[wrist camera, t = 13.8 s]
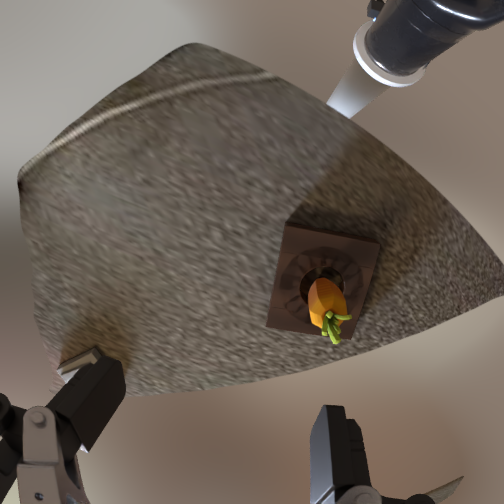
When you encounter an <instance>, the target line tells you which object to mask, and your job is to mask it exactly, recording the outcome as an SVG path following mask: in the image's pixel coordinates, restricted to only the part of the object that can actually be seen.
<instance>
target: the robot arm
mask: <svg viewBox="0 0 504 504" xmlns="http://www.w3.org/2000/svg"><path fill="white" fill-rule="evenodd" d="M367 10H368V11H367V16H368V17H371V18H375V19H374V20H373V21H374V22H373V24H372V25H371V27H370V28H369V29H368V31H367V32H366V34H365V37H364V47H365V50H366V53H367V54H368V56H369V58H370V59H371V60H372V62H373V63H374V64H375V65H376V66H378V67H379V68H380V69H381V70H383V71H385V72H387V73H389V74H391V75H394V76H399V77H406V76H410V75H412V74H414V73H415V72H416V71H418V70H419V68H421V67H422V66H424V65H425V64H426V65H425V66H424V68H426V67H427V65H428V64H429V62H430V61H431V60H433V59H434V58H435V57H437V56H438V55H440V54H441V53H443V52H444V51H446V50H447V49H449V48H450V47H452V46H453V45H455V44H456V43H458V42H459V41H461V40H462V39H463V38H465V37H467V36H468V35H470V34H471V33H473V32H475V31H476V30H477V31H480V30H486V29H489V28H491V27H492V26H495V25H497V24H499V23H501V22H503V21H504V0H387V1H386V3H384V2H383V0H377V1H375V0H371V1H370V3H369V5H368V7H367ZM424 68H423V69H424ZM423 69H422V70H423ZM125 393H126V384H125V379H124V374H123V368H122V363H121V362H120V361H119V360H116V359H113V358H110V357H108V356H105V355H103V356H101V357H100V358H99V359H98V360H97V362H96V363H95V364H93V363H89V364H87V365H85V366H83V367H81V368H80V369H79V370H78V371H77V372H76V373H75V374H74V375H73V377H72V378H71V379H70V380H69V381H68V383H66V384H65V385H64V386H63V387H62V389H61V390H60V391H59V392H58V393H57V394H56V395H55V396H54V398H53V399H52V400H51V401H50V402H49V403H48V405H46V406H45V407H43V406H35V407H32V408H30V409H28V410H26V409H23V408H20V407H16V406H13V405H11V403H10V401H9V400H8V398H7V397H6V396H5V395H4V394H2V393H0V436H2V440H1V441H0V504H2V502H3V500H4V498H5V496H6V495H7V493H8V491H9V490H10V488H11V486H12V485H13V483H14V481H15V480H16V478H17V480H18V489H19V498H20V504H90V502H89V500H88V498H87V496H86V494H85V491H84V487H83V483H82V479H81V474H80V470H79V464H78V459H77V455H76V453H77V451H78V450H79V449H81V450H83V451H85V452H87V453H89V451H90V449H91V448H92V446H93V445H94V443H95V442H96V440H97V438H98V437H99V436H100V434H101V432H102V431H103V429H104V428H105V426H106V425H107V423H108V422H109V420H110V419H111V417H112V416H113V414H114V413H115V411H116V409H117V408H118V406H119V405H120V403H121V402H122V400H123V399H124V396H125ZM364 449H365V448H364V443H363V437H362V432H361V428H360V427H359V426H358V424H357V423H356V421H355V420H354V419H346V414H345V409H344V407H343V406H337V405H323V407H322V409H321V411H320V413H319V415H318V417H317V419H316V422H315V423H314V425H313V428H312V431H311V436H310V469H311V471H310V472H311V499H310V501H311V503H310V504H435V502H434V501H433V499H432V498H431V497H429V496H427V495H425V494H416V495H413V496H411V497H410V498H408V499H407V500H402V499H395V498H388V497H384V496H381V495H380V494H379V492H378V491H377V490H376V489H374V488H373V487H372V485H371V482H370V476H369V470H368V464H367V458H366V453H365V451H364Z"/></svg>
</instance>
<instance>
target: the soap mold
mask: <svg viewBox="0 0 504 504" xmlns="http://www.w3.org/2000/svg"><path fill="white" fill-rule="evenodd" d="M100 357H101V355H100V353H99V352H98V351H97V349H96V348H93V349H91V350H89V351H87V352H85V353H83V354H81V355H79V356H77V357H75V358H73V359H71V360H69V361H67V362H65V363H63V364H61V365H59V367H58V369H57V371H58V373H59V374H60V376H61V377H62V379H63V380H64V381H65V383H68V381H69V380H70V379H71V378H72V377H73V375H74V374H75V373H76V372H77V371H78V370H79V369H80V368H81V367H83V366H85V365H87V364H89V363H93V364H95V363H96V362H97V360H98V359H99V358H100Z"/></svg>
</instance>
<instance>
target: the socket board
mask: <svg viewBox="0 0 504 504" xmlns="http://www.w3.org/2000/svg"><path fill="white" fill-rule="evenodd" d="M380 246H381V244H380V243H378V242H377V241H376V240H375V239H370V238H365V237H361V236H356V235H351V234H346V233H341V232H336V231H331V230H326V229H321V228H316V227H311V226H306V225H300V224H295V223H289V222H285V227H284V232H283V238H282V243H281V248H280V254H279V259H278V264H277V269H276V274H275V279H274V284H273V289H272V294H271V299H270V304H269V309H268V314H267V320H266V327H269V328H275V329H281V330H287V331H293V332H299V333H306V334H312V335H319V336H324V335H322V328H320V327H318V326H316V325H314V324H313V323H312V321H311V316H310V311H309V303H308V297H307V296H305V295H304V294H303V292H302V291H301V289H300V284H301V280H302V279H303V277H304V276H305V274H306V273H307V272H309V271H310V270H312V269H314V268H317V267H322V266H325V267H330V268H333V269H335V270H336V271H338V272H339V273H340V274H341V283H340V287H339V289H340V290H341V292H342V294H343V296H344V298H345V300H346V307H347V315H352V319H349V320H344V321H343V322H342V323H341V325H340V326H339V328H340V329H341V333H340V334H338V335H339V337H340V338H341V339H349V340H351V338H352V335H353V333H354V330H355V327H356V324H357V321H358V318H359V316H360V313H361V310H362V307H363V304H364V301H365V298H366V294H367V291H368V288H369V285H370V282H371V278H372V275H373V271H374V268H375V265H376V261H377V257H378V254H379V250H380ZM326 337H330V336H329V334H328V330H327V336H326Z"/></svg>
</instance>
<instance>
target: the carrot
mask: <svg viewBox="0 0 504 504" xmlns="http://www.w3.org/2000/svg"><path fill="white" fill-rule="evenodd" d="M308 303H309V311H310V316H311V321H312V323H313V324H314V325H316V326H318V327H320V328H322V335H324V336H327V330H328V334H329V336H330V338H331V340H332V342H333V343H334V344H337V343H339V342H341V338H340V337H339V335H338V334H340V333H341V329H340V328H339V326H340V325H341V323H342V322H343V321H344V320H349V319H352V315H347V307H346V300H345V298H344V296H343V294H342V292H341V290H340V289H339V288H338V287H337V286H336V285H335V284H334V283H333V282H331V281H330V280H328V279H326V278H324V277H323V278H319V279H316V280H315V282H314V283H313V285H312V286H311V287H310V290H309V294H308Z"/></svg>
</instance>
